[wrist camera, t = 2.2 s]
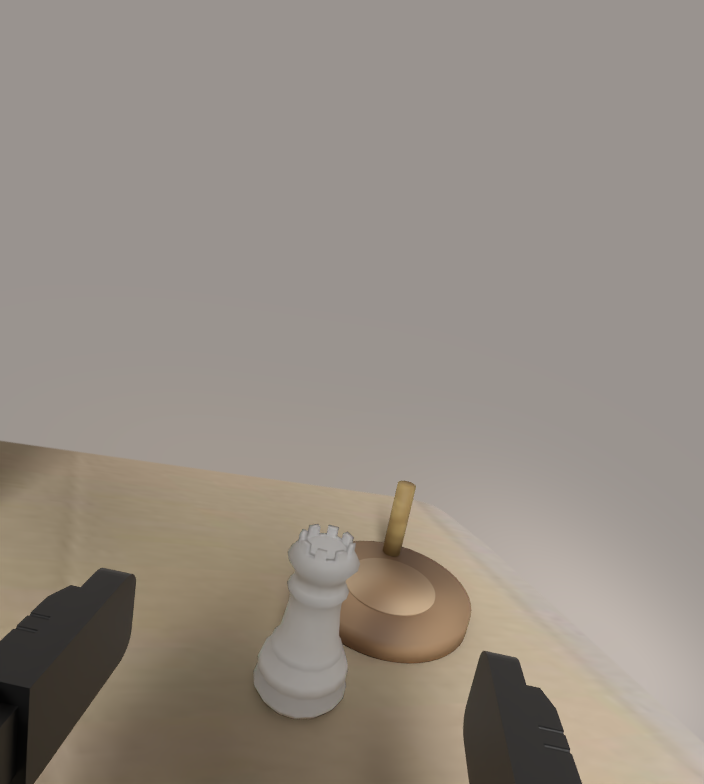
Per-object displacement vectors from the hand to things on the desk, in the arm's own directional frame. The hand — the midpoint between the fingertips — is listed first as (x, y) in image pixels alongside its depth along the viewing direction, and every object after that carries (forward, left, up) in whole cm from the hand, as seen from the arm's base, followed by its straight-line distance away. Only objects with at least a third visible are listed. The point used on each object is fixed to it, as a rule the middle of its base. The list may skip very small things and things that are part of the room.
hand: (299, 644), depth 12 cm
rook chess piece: (0, +11, -12) cm, 16 cm away
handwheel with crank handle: (+4, +19, -12) cm, 23 cm away
